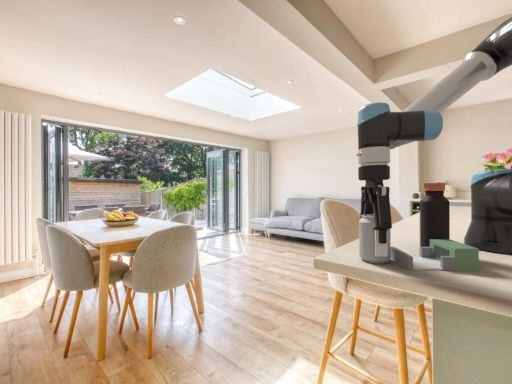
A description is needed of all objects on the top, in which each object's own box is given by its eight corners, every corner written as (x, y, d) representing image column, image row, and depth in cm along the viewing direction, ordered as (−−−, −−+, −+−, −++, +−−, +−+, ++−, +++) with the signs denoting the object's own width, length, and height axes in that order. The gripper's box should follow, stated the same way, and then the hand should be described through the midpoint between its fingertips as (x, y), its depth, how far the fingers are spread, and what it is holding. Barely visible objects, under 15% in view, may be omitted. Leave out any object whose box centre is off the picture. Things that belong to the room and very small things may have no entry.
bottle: (455, 257, 68) (455, 182, 68) (430, 257, 69) (430, 183, 68) (438, 250, 75) (438, 182, 75) (415, 250, 75) (414, 183, 75)
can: (394, 265, 63) (394, 216, 62) (362, 263, 64) (361, 216, 64) (385, 256, 70) (385, 213, 70) (356, 255, 72) (356, 213, 71)
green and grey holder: (449, 258, 68) (449, 239, 67) (478, 270, 58) (478, 248, 57) (390, 257, 69) (390, 239, 69) (408, 269, 59) (408, 248, 59)
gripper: (348, 168, 78) (349, 242, 78) (373, 161, 56) (373, 263, 57) (374, 167, 77) (374, 242, 77) (409, 160, 56) (409, 263, 56)
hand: (374, 251), depth 67 cm, fingers open, 9 cm apart
